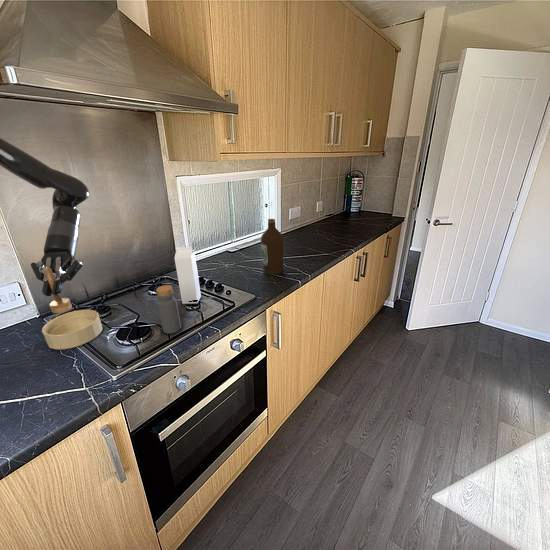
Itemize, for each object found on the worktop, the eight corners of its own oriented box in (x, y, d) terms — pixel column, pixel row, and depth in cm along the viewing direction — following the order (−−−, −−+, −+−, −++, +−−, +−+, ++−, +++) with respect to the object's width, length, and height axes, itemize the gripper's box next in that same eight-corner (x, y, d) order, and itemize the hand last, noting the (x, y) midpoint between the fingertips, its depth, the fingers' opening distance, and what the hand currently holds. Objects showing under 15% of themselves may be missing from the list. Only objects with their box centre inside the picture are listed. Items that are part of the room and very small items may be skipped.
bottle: (162, 326, 99) (154, 286, 93) (180, 322, 101) (173, 282, 95) (163, 335, 94) (154, 293, 88) (182, 331, 96) (174, 290, 90)
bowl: (35, 350, 89) (28, 335, 86) (71, 323, 102) (66, 309, 100) (83, 351, 87) (77, 336, 85) (112, 323, 101) (108, 309, 99)
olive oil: (279, 265, 147) (278, 216, 137) (287, 273, 138) (286, 220, 128) (259, 268, 144) (256, 218, 134) (266, 276, 135) (263, 223, 125)
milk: (186, 297, 118) (177, 244, 110) (201, 296, 118) (193, 244, 110) (182, 304, 113) (172, 249, 104) (197, 303, 113) (189, 249, 104)
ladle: (48, 313, 83) (31, 270, 77) (60, 304, 87) (45, 264, 82) (63, 313, 82) (48, 270, 77) (75, 305, 87) (61, 264, 81)
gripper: (28, 234, 83) (14, 292, 76) (79, 231, 84) (69, 288, 77) (46, 246, 90) (34, 300, 83) (93, 244, 91) (84, 297, 84)
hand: (51, 294), depth 80 cm, fingers closed on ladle
